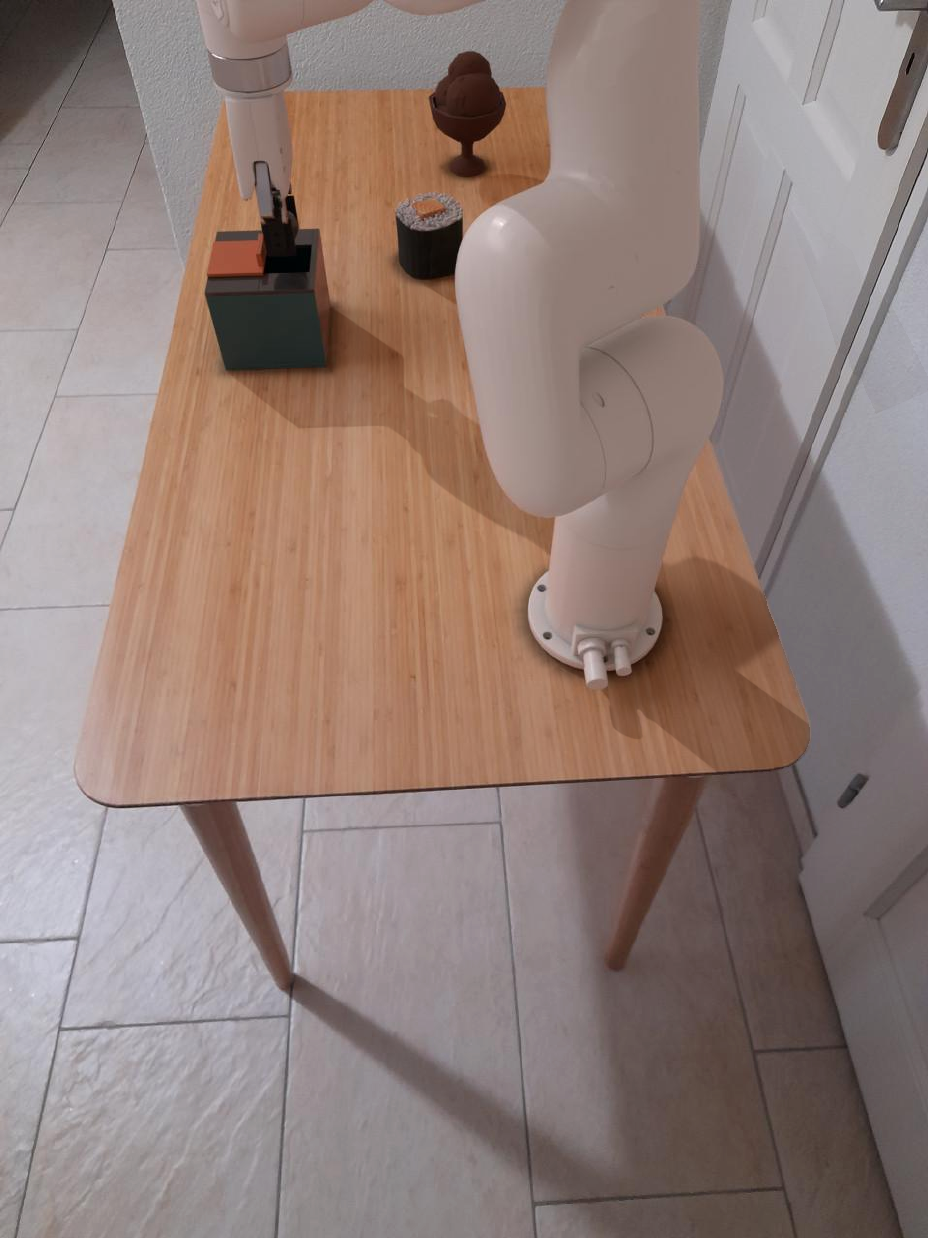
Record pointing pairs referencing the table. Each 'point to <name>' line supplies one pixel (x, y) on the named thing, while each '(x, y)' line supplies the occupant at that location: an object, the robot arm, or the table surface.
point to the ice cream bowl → (467, 108)
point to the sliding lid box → (273, 308)
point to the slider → (237, 258)
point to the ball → (294, 223)
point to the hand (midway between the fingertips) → (283, 241)
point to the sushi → (429, 235)
